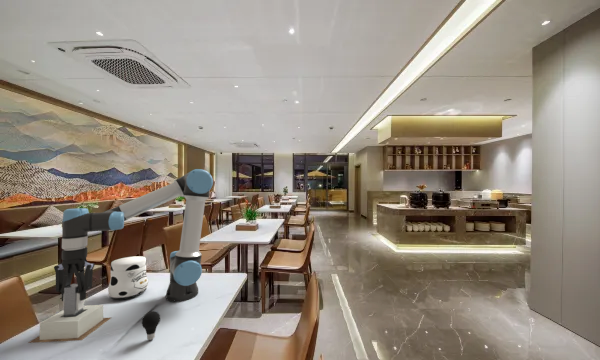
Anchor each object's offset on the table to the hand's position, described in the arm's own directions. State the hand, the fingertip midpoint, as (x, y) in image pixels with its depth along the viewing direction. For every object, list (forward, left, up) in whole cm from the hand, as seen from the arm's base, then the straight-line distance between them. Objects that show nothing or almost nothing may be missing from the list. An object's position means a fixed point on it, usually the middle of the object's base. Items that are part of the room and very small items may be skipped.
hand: (73, 308), depth 98 cm
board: (0, 0, -9) cm, 9 cm away
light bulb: (-33, +8, -9) cm, 35 cm away
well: (0, 0, -8) cm, 8 cm away
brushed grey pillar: (0, 0, -3) cm, 3 cm away
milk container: (0, -35, -9) cm, 36 cm away
